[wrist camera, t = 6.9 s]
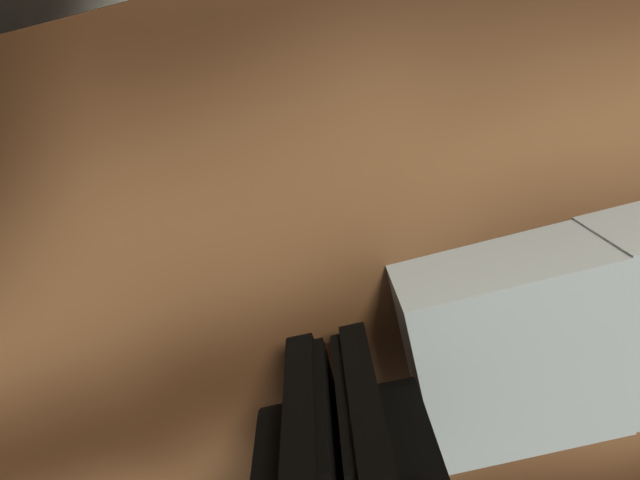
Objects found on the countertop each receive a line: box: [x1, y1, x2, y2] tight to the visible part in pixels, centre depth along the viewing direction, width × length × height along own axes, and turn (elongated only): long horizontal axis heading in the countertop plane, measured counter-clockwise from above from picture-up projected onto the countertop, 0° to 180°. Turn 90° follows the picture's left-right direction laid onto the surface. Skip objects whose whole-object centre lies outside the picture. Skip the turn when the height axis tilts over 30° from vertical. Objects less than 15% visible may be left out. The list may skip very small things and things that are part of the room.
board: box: [0, 0, 640, 480], centre depth 14 cm, size 16×22×6 cm
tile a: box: [386, 219, 636, 475], centre depth 10 cm, size 4×4×2 cm
